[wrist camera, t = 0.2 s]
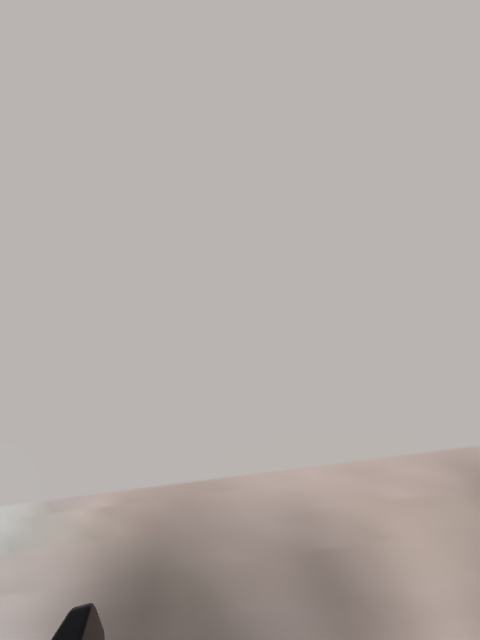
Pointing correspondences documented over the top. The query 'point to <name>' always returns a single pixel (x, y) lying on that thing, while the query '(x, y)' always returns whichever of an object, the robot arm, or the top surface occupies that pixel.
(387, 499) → the top surface
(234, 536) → the top surface
